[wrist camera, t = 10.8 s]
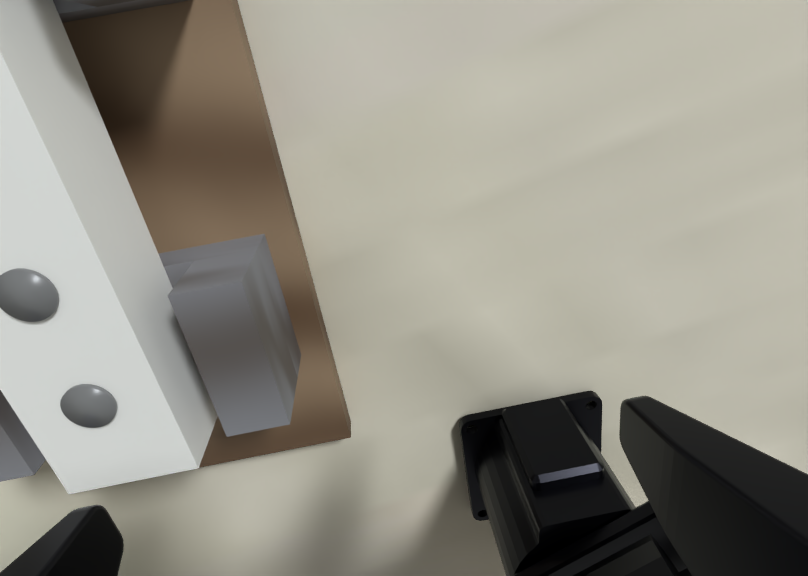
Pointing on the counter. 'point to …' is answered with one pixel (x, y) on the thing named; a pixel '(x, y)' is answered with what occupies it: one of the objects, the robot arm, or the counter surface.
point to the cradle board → (209, 221)
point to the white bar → (83, 280)
